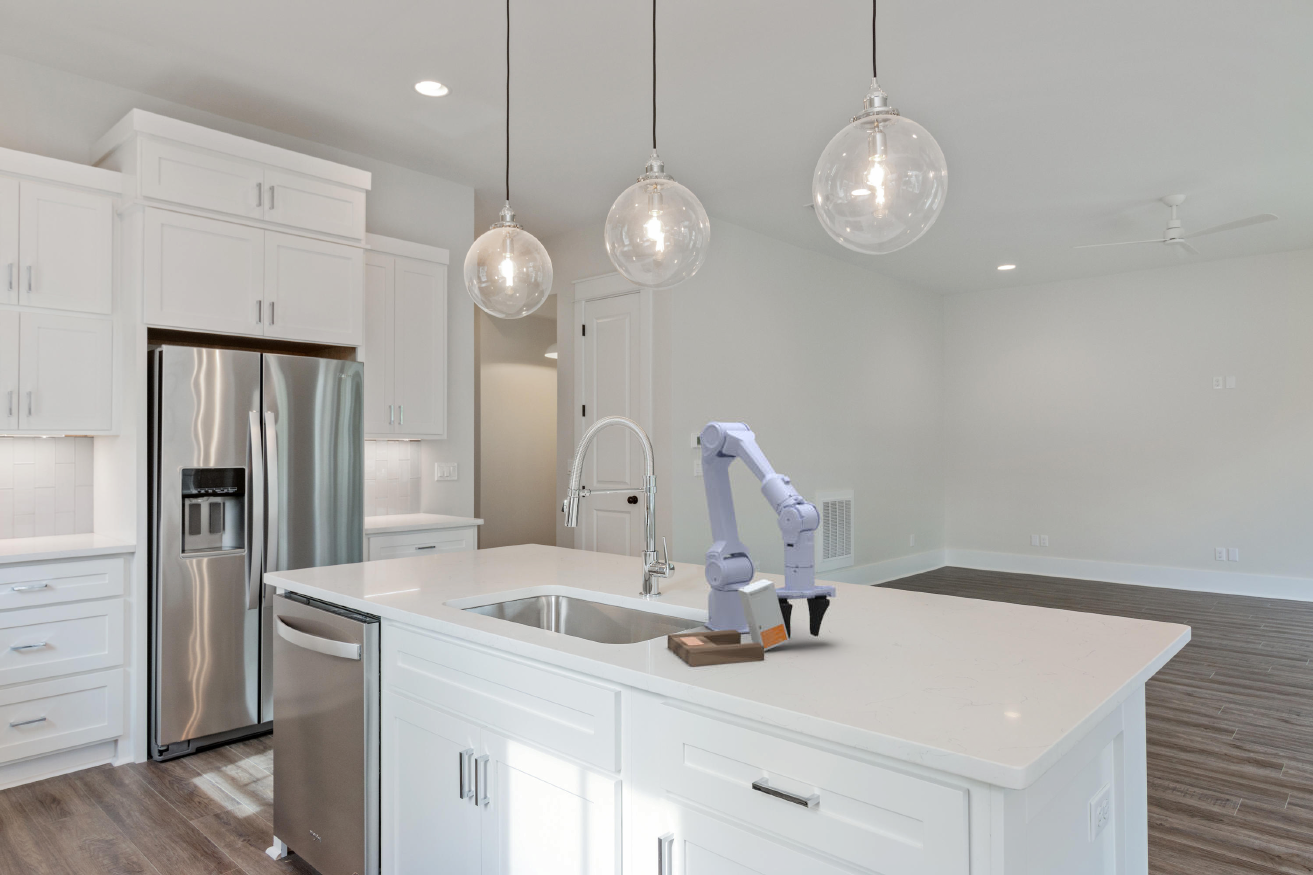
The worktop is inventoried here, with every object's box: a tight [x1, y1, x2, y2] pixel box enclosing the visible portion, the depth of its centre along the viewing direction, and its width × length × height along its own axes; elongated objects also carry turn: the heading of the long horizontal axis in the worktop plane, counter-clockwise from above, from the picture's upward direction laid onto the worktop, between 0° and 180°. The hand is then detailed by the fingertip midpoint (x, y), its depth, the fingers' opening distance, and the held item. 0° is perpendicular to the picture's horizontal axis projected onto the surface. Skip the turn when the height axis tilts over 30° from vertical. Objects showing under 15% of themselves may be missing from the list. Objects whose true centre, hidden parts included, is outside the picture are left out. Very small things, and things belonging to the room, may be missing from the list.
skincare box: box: [738, 578, 790, 652], centre depth 149 cm, size 6×4×12 cm
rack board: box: [667, 630, 765, 668], centre depth 146 cm, size 14×14×3 cm
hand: (800, 636), depth 151 cm, fingers open, 5 cm apart
